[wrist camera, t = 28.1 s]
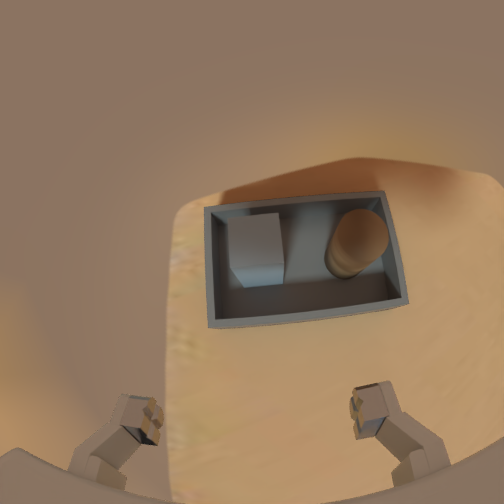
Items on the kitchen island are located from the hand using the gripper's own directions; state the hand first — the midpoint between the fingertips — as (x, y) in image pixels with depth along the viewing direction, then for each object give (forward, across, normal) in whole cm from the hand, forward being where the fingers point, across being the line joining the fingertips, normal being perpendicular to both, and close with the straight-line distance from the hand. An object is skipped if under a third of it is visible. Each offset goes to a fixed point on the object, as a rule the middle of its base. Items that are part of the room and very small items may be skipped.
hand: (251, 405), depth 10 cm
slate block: (+23, 0, +7) cm, 24 cm away
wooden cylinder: (+23, -10, +7) cm, 26 cm away
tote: (+24, -5, +8) cm, 25 cm away
